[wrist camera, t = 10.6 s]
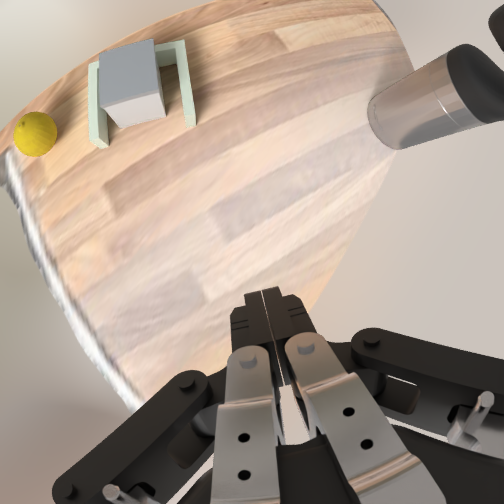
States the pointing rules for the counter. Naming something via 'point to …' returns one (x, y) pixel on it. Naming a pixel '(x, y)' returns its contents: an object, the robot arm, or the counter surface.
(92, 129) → the bay
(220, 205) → the counter surface
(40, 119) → the lemon
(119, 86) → the lidded grey box
